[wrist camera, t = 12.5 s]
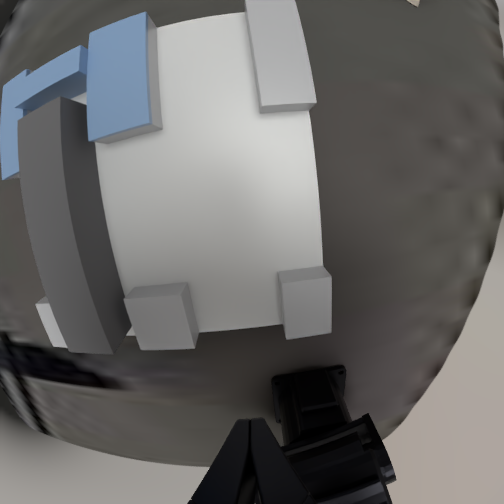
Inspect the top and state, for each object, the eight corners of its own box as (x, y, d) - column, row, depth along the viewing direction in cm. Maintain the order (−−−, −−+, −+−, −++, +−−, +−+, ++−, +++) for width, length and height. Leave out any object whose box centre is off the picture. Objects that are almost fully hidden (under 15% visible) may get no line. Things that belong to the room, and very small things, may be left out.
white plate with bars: (320, 311, 20) (337, 345, 15) (69, 329, 20) (44, 355, 16) (287, 17, 14) (297, -17, 9) (28, 91, 14) (-5, 84, 10)
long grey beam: (133, 323, 19) (113, 354, 15) (92, 324, 19) (69, 351, 15) (93, 107, 14) (60, 96, 10) (52, 125, 14) (17, 120, 10)
